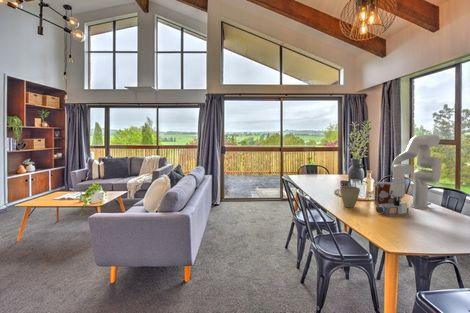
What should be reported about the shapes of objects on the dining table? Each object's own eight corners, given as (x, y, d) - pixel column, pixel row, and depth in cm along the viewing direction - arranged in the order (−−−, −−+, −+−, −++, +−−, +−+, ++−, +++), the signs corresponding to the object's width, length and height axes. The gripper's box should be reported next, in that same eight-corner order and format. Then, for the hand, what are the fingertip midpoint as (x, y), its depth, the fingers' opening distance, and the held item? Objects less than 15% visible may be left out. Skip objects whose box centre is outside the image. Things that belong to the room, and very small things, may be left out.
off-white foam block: (405, 212, 191) (405, 202, 190) (407, 213, 189) (408, 202, 188) (397, 213, 189) (398, 202, 188) (400, 214, 187) (400, 203, 186)
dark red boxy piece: (402, 208, 206) (404, 184, 204) (377, 206, 210) (378, 183, 208) (398, 205, 215) (399, 182, 213) (373, 203, 219) (374, 181, 217)
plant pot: (339, 208, 206) (340, 188, 205) (339, 203, 220) (340, 185, 218) (359, 210, 200) (360, 190, 199) (358, 205, 214) (359, 186, 213)
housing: (395, 210, 200) (396, 202, 200) (408, 214, 189) (408, 205, 189) (373, 212, 195) (373, 203, 194) (385, 216, 184) (385, 207, 184)
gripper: (401, 180, 191) (400, 203, 193) (385, 181, 187) (384, 205, 189) (410, 181, 184) (409, 206, 185) (394, 182, 180) (392, 207, 182)
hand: (396, 205), depth 187 cm, fingers closed
